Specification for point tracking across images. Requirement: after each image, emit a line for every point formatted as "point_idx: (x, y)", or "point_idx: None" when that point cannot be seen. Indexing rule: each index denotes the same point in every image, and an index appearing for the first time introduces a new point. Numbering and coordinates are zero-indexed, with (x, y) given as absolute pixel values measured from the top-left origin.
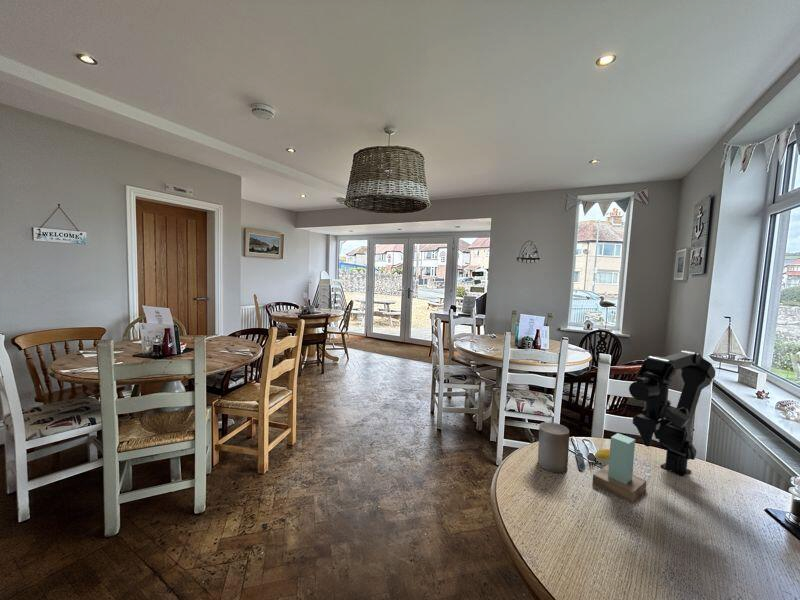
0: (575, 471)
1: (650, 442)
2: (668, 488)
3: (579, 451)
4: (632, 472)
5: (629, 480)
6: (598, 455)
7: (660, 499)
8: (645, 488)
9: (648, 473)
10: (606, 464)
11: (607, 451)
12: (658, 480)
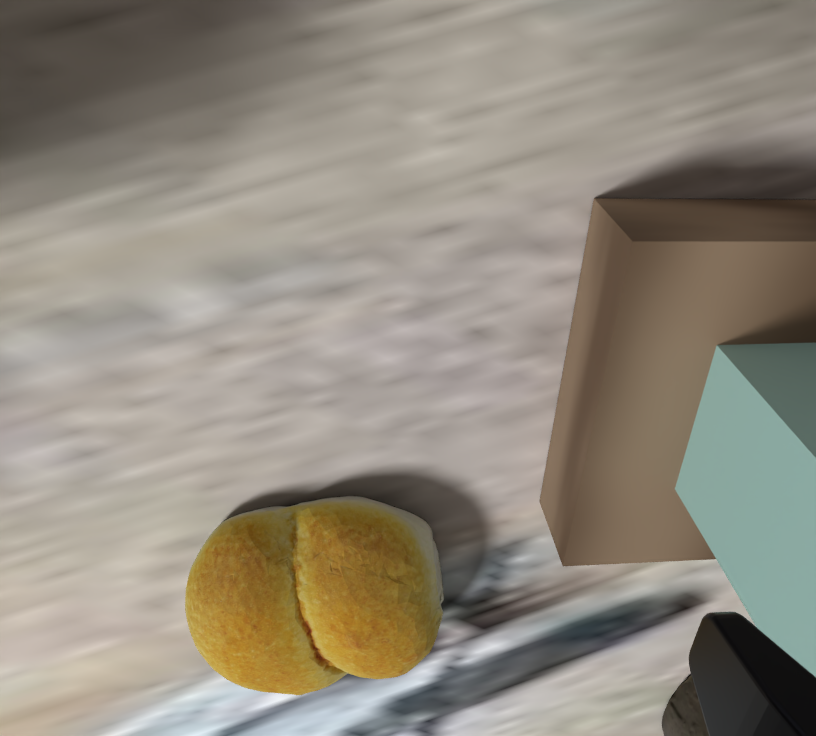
0: (729, 611)
1: (798, 706)
2: (323, 40)
3: (365, 722)
4: (761, 391)
5: (800, 348)
6: (421, 658)
7: (685, 27)
8: (611, 205)
9: (170, 298)
10: (437, 561)
11: (299, 664)
12: (229, 179)
